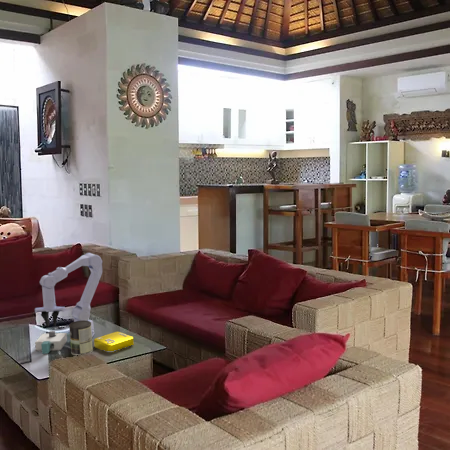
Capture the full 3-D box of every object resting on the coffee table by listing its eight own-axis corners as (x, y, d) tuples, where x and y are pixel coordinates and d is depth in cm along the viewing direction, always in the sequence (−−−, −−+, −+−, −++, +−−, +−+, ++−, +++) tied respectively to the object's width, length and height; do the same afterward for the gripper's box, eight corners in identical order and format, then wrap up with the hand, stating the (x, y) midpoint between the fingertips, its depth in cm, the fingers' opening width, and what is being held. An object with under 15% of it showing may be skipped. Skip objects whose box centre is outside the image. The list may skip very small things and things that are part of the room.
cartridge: (50, 343, 282) (50, 334, 281) (56, 343, 282) (55, 333, 281) (42, 353, 268) (41, 344, 267) (47, 353, 268) (47, 343, 267)
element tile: (135, 345, 276) (135, 336, 275) (109, 354, 266) (109, 344, 265) (118, 339, 287) (117, 330, 286) (92, 347, 276) (92, 338, 275)
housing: (43, 342, 284) (42, 333, 284) (67, 341, 285) (66, 332, 284) (35, 350, 273) (35, 342, 272) (60, 350, 273) (59, 341, 272)
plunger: (56, 334, 281) (55, 330, 281) (54, 336, 278) (54, 332, 278) (50, 335, 281) (49, 330, 281) (48, 337, 278) (48, 332, 278)
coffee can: (69, 356, 264) (67, 327, 262) (73, 348, 274) (71, 321, 272) (91, 355, 265) (89, 326, 263) (94, 347, 275) (92, 319, 273)
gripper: (31, 302, 273) (34, 328, 275) (61, 301, 273) (63, 327, 275) (36, 298, 280) (38, 324, 282) (65, 297, 280) (67, 323, 282)
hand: (51, 325), depth 279 cm, fingers open, 3 cm apart
